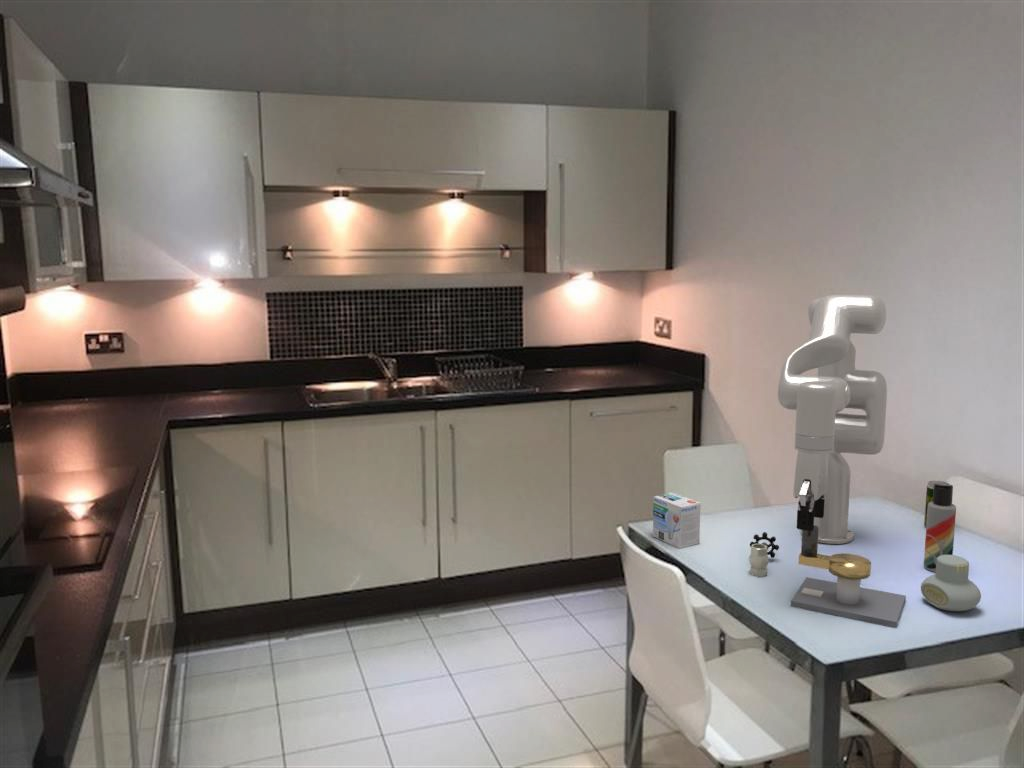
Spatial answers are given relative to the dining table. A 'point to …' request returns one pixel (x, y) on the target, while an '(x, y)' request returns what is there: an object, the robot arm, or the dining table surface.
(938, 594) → the air freshener
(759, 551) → the valve
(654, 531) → the light bulb box
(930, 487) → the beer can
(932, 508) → the lotion bottle
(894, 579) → the dining table surface
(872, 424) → the robot arm
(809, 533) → the brass knob with handle
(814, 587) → the post base
